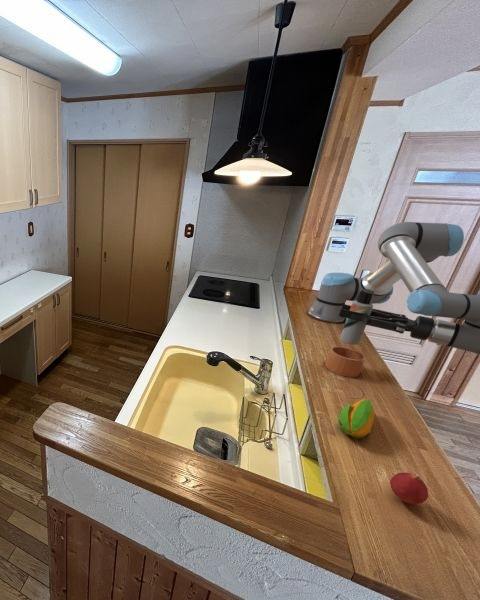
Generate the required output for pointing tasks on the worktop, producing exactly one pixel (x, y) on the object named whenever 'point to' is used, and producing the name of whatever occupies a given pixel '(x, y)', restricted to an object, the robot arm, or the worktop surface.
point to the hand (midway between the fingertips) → (341, 310)
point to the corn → (357, 418)
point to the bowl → (345, 361)
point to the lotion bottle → (353, 327)
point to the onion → (409, 488)
